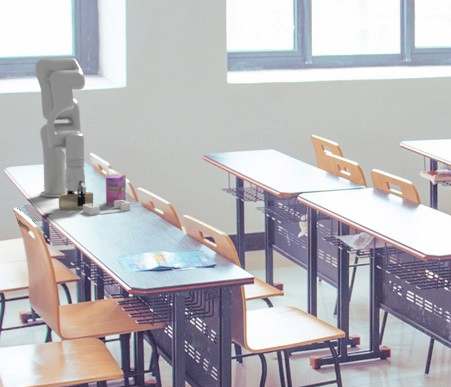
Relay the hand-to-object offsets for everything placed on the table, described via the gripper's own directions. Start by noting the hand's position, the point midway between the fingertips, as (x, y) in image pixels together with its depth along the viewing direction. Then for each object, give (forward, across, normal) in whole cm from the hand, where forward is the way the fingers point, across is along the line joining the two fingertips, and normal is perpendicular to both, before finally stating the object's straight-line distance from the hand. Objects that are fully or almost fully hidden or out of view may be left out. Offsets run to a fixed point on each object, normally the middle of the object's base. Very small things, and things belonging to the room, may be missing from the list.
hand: (76, 204), depth 421 cm
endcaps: (+2, +12, +8) cm, 15 cm away
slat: (+2, 0, 0) cm, 2 cm away
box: (+2, -1, +19) cm, 19 cm away
